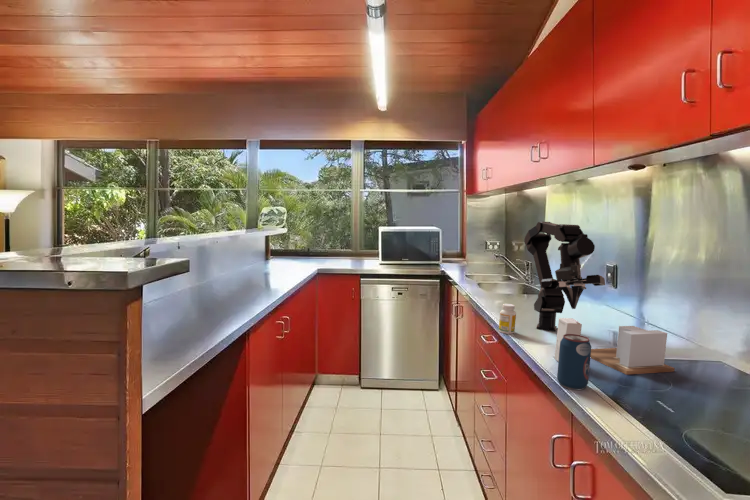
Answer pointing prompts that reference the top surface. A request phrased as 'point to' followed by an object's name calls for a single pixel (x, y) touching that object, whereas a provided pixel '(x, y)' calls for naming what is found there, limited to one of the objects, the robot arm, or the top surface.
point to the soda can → (574, 361)
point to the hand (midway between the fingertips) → (573, 308)
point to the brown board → (610, 359)
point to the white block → (640, 346)
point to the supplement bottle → (507, 319)
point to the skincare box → (566, 331)
